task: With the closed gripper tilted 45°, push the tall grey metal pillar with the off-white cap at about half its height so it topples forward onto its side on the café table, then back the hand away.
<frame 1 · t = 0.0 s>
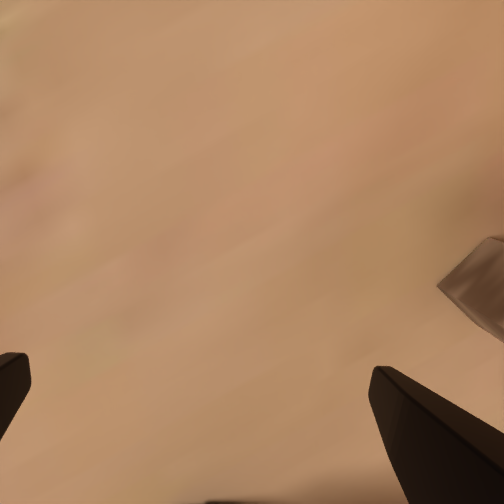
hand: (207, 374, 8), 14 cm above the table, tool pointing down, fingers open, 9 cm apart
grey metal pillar: (481, 282, 24), on the table
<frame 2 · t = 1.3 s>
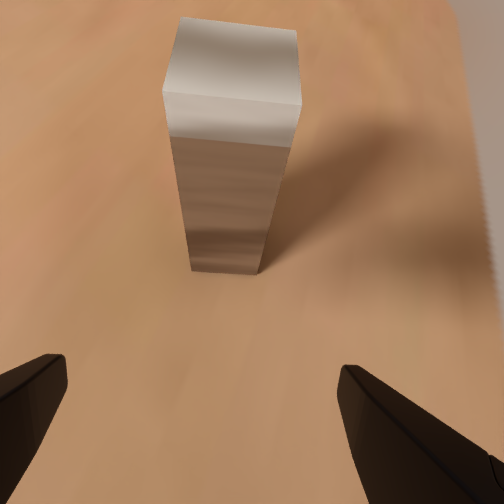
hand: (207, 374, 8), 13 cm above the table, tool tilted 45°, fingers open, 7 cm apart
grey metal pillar: (226, 245, 26), on the table
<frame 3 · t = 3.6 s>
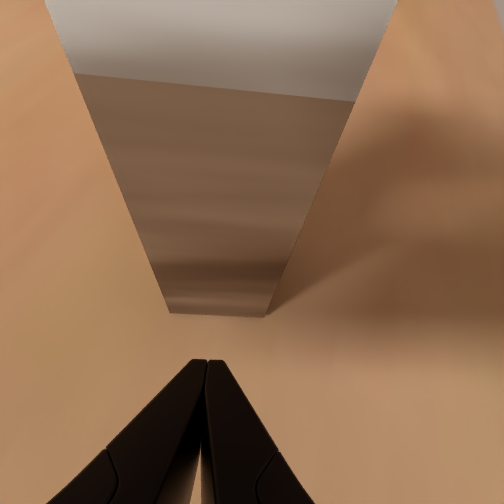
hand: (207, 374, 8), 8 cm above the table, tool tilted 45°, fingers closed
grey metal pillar: (220, 272, 18), on the table
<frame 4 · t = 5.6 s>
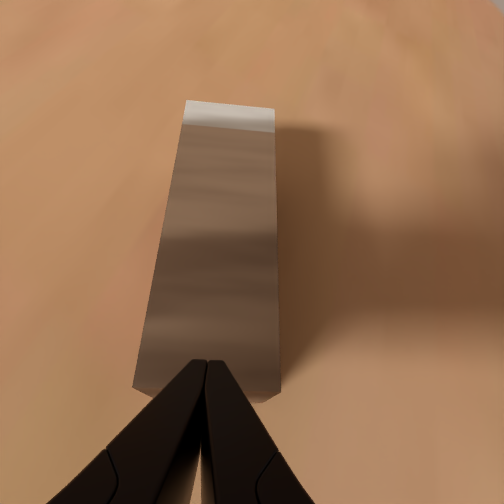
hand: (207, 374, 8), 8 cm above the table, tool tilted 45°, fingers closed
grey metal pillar: (209, 396, 13), point 2 cm above the table, tilted 90°
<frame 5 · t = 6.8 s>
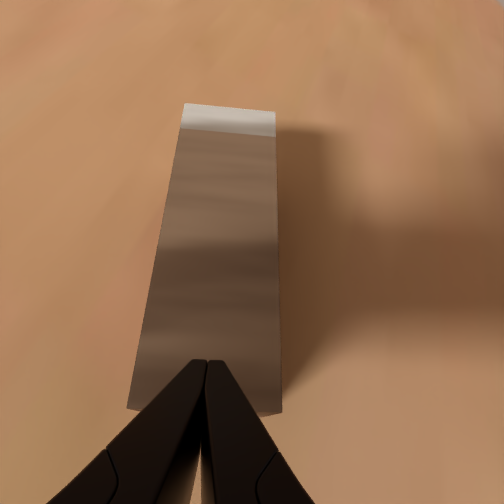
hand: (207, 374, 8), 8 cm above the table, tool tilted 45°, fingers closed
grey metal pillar: (207, 413, 12), point 2 cm above the table, tilted 90°
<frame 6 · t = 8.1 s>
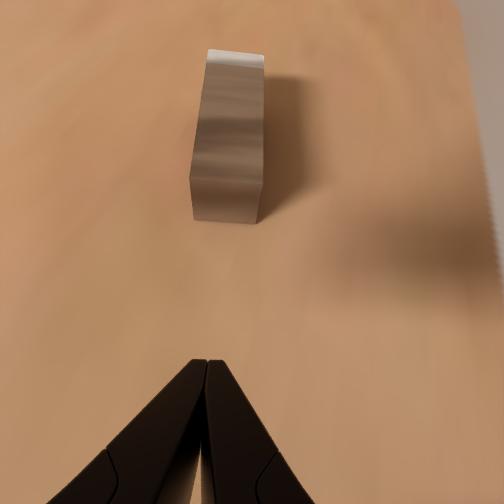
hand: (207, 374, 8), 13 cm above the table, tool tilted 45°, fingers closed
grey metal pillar: (225, 203, 24), point 2 cm above the table, tilted 90°
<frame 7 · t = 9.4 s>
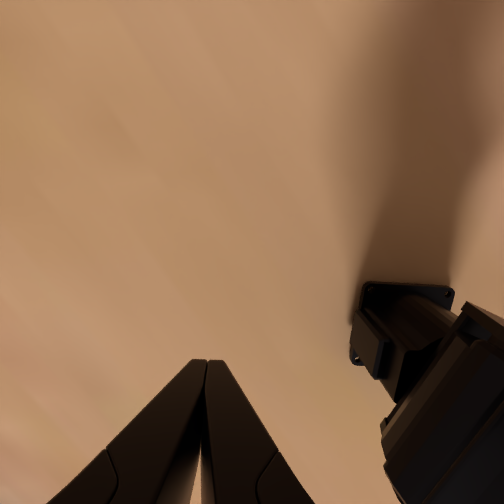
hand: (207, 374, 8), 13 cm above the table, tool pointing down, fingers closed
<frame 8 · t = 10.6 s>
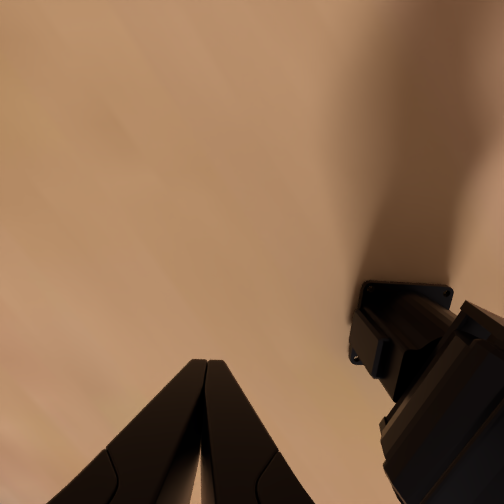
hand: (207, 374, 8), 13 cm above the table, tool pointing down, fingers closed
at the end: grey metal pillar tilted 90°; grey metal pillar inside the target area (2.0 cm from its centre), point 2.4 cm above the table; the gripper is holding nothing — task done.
